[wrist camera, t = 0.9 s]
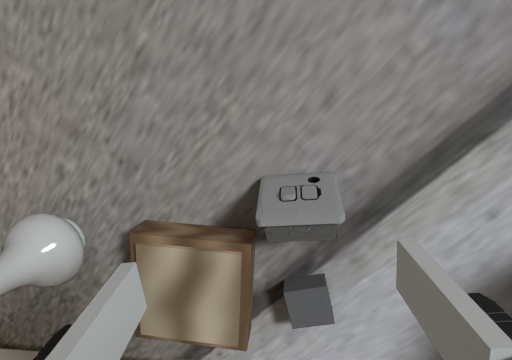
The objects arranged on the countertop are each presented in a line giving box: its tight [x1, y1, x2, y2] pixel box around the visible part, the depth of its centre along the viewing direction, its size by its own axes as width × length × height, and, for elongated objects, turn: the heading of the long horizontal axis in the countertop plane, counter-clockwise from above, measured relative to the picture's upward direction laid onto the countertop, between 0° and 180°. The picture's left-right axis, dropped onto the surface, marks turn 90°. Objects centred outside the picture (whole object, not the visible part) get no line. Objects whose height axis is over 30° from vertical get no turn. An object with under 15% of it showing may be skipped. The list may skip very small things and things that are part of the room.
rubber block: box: [283, 273, 335, 329], centre depth 38 cm, size 5×5×3 cm
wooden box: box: [129, 220, 256, 351], centre depth 38 cm, size 14×14×5 cm
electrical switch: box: [256, 172, 345, 242], centre depth 33 cm, size 8×5×8 cm, turn 96°
